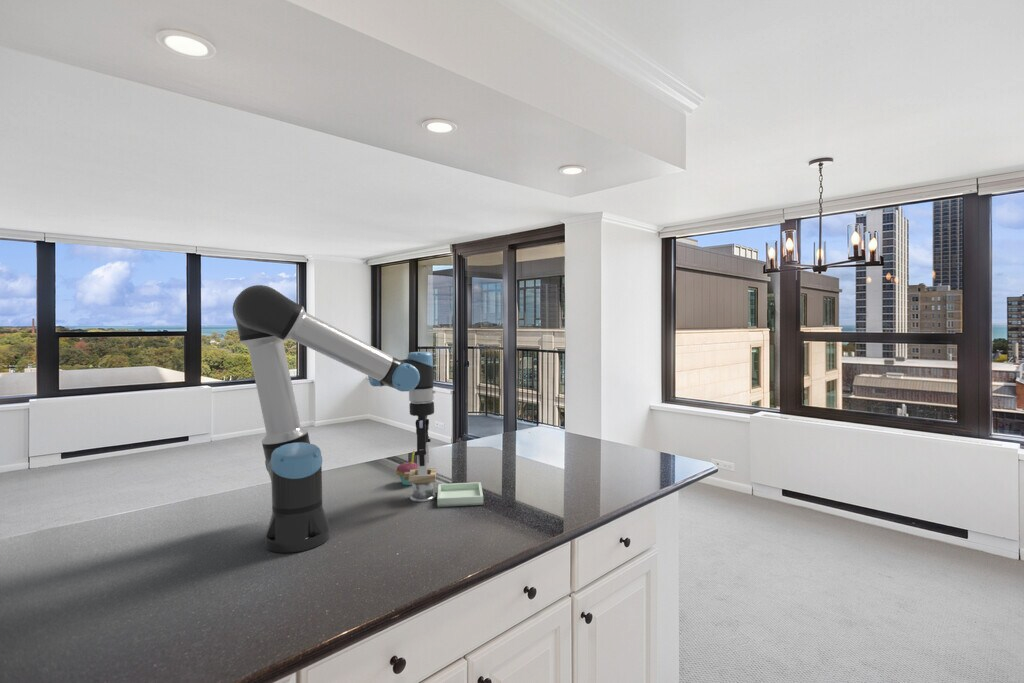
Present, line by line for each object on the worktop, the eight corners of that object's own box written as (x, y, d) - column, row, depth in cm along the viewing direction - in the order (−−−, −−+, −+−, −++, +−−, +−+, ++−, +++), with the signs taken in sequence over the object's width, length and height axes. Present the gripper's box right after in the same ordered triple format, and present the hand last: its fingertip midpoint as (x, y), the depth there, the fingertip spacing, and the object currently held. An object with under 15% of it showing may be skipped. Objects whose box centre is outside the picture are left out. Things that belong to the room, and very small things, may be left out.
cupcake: (424, 479, 176) (424, 445, 175) (417, 487, 167) (417, 451, 167) (400, 479, 177) (400, 445, 176) (392, 487, 168) (392, 451, 168)
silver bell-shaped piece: (435, 501, 154) (435, 459, 154) (408, 502, 153) (408, 460, 153) (436, 492, 162) (435, 452, 162) (411, 493, 161) (410, 453, 161)
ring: (435, 481, 154) (435, 475, 154) (403, 483, 153) (403, 476, 153) (436, 474, 162) (436, 468, 162) (405, 475, 161) (405, 469, 161)
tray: (483, 504, 151) (483, 496, 151) (437, 506, 150) (437, 498, 149) (480, 489, 165) (480, 482, 165) (438, 491, 163) (438, 484, 163)
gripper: (432, 408, 145) (434, 481, 146) (435, 395, 169) (437, 457, 170) (405, 409, 144) (408, 482, 145) (412, 396, 169) (414, 458, 169)
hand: (423, 469), depth 158 cm, fingers open, 13 cm apart
